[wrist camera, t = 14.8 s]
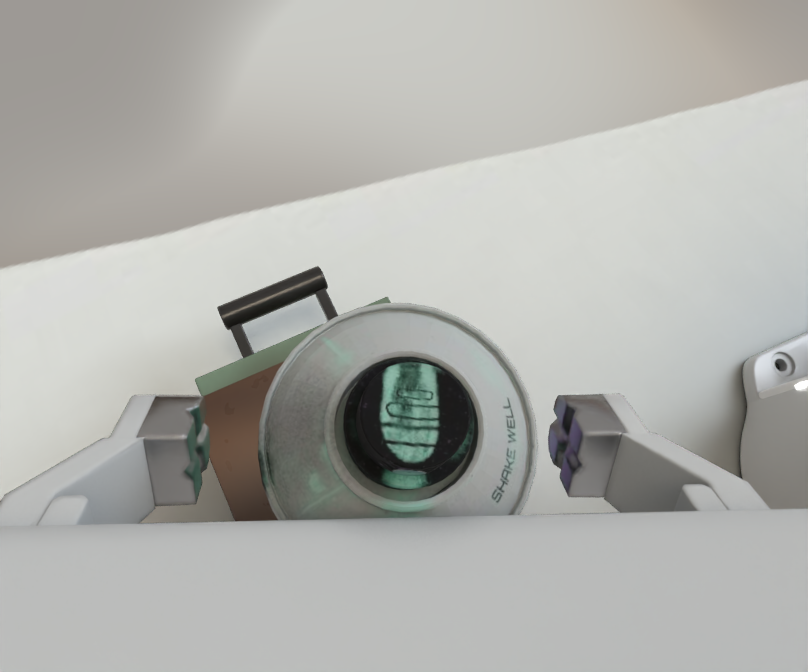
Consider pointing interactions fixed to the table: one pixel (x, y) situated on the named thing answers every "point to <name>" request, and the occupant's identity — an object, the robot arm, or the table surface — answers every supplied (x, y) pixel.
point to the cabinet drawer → (260, 306)
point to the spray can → (396, 421)
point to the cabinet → (240, 443)
